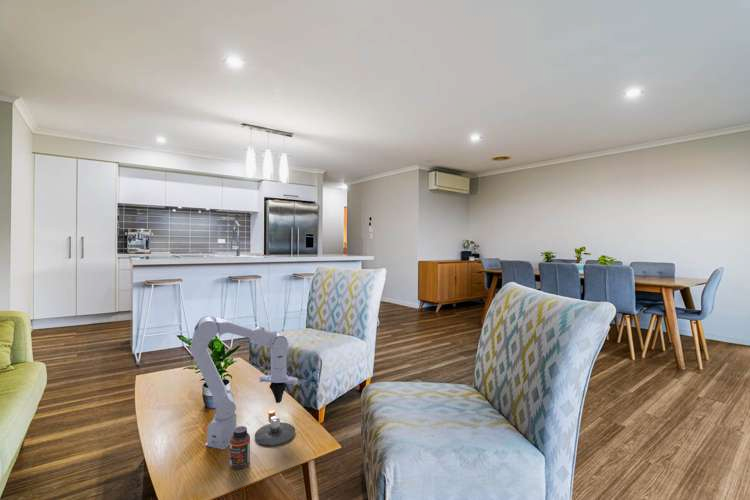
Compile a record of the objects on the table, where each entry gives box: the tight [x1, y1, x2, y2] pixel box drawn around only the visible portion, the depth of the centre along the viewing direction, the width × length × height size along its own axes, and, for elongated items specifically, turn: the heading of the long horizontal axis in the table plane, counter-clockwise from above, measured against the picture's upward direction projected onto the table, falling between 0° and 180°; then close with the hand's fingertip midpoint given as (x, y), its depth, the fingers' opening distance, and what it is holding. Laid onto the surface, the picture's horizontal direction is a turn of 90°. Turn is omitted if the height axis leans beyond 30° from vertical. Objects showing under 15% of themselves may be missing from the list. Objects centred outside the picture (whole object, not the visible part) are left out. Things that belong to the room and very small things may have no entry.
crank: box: [267, 409, 281, 434], centre depth 131 cm, size 9×3×5 cm, turn 28°
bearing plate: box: [254, 422, 296, 447], centre depth 129 cm, size 14×14×1 cm
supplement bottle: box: [229, 425, 251, 470], centre depth 112 cm, size 6×6×11 cm
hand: (278, 401), depth 134 cm, fingers closed
